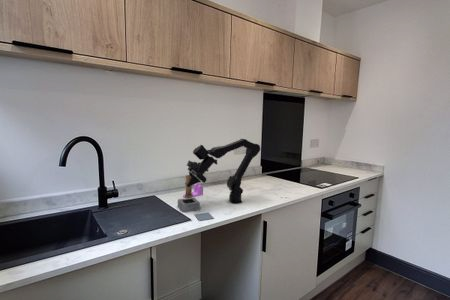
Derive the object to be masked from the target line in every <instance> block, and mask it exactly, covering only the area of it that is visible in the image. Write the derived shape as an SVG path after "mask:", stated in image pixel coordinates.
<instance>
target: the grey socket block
mask: <svg viewBox="0 0 450 300" xmlns="http://www.w3.org/2000/svg"><path fill="white" fill-rule="evenodd" d="M177 207H178V208H179V210H180V211H181V213H186V212H187V213H188V212H193V211H199V210H200V209H201V202H199V200H197V198H196V197H192V198H178V199H177Z"/></svg>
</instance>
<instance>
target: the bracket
mask: <svg viewBox="0 0 450 300" xmlns="http://www.w3.org/2000/svg"><path fill="white" fill-rule="evenodd" d="M185 194H186V193H183V194H182V196H183V199H185ZM192 194H193V197H195V198H196V197H199V196H203V195H204V186H203V185H202V184H200V183H196V184H194V185H193V192H192ZM193 197H192V198H193Z"/></svg>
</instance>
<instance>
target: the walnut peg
mask: <svg viewBox="0 0 450 300" xmlns="http://www.w3.org/2000/svg"><path fill="white" fill-rule="evenodd" d="M191 179H192V176H191V175H189V174H187V175H185V183H186V185H185V193H184V194H185V198H193V194H192V191H193V190H192V189H193V187H192V186H193V185H191V186H189V187H187V184H188V183H189V181H190V180H191ZM185 198H184V199H185Z"/></svg>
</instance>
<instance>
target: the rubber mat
mask: <svg viewBox="0 0 450 300" xmlns="http://www.w3.org/2000/svg"><path fill="white" fill-rule="evenodd" d="M194 217H195V218H196V220H197V221H198V222H201V221H209V220H214V219H215V217H214V216H212V214H211V213H210V212H202V213H196V214H194Z"/></svg>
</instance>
